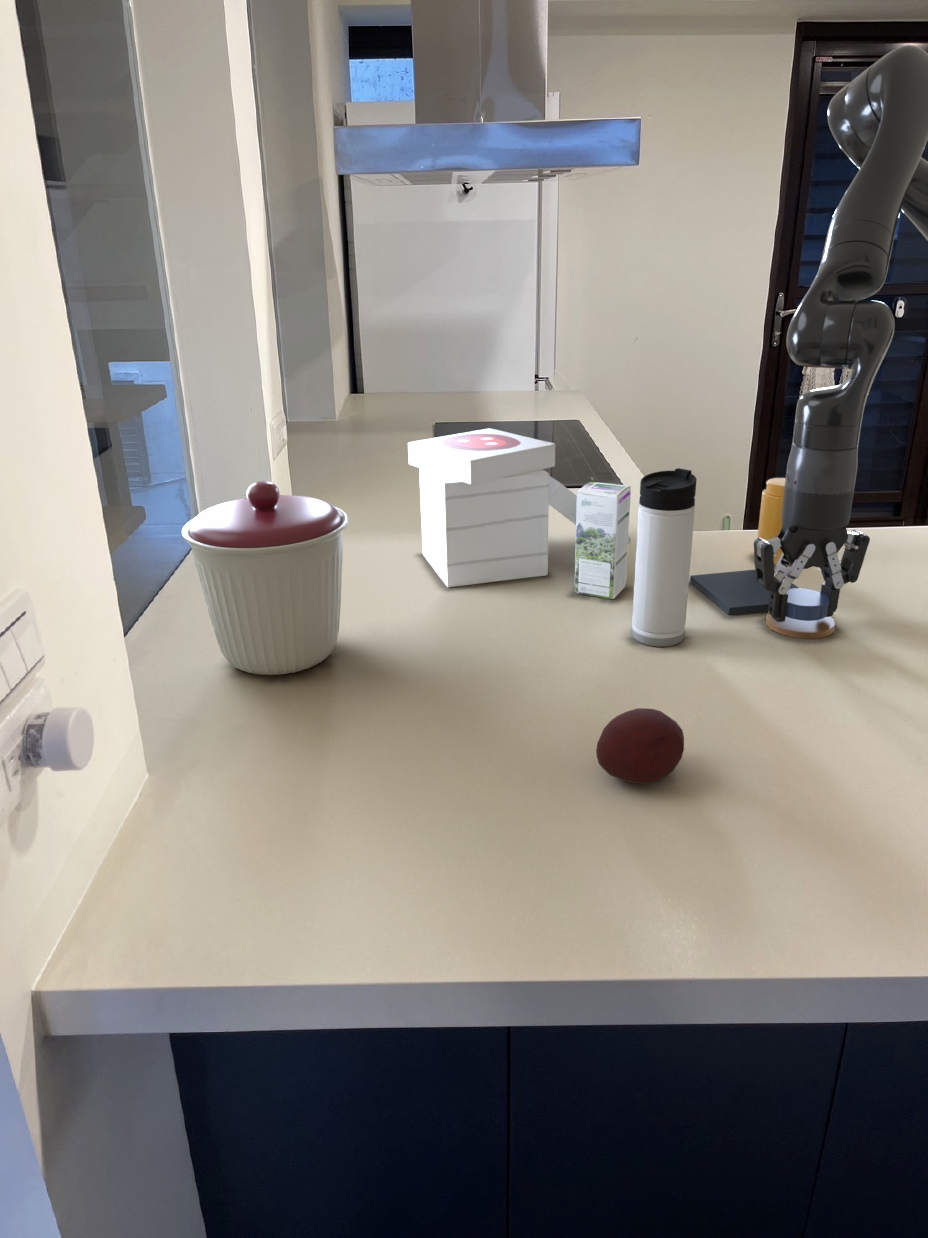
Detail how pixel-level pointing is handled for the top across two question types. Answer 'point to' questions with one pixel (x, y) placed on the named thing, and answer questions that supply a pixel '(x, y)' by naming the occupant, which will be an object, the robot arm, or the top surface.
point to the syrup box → (601, 539)
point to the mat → (734, 591)
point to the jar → (771, 511)
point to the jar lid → (806, 604)
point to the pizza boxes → (487, 505)
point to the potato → (640, 746)
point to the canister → (271, 577)
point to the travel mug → (663, 557)
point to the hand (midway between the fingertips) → (801, 616)
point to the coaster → (802, 627)
